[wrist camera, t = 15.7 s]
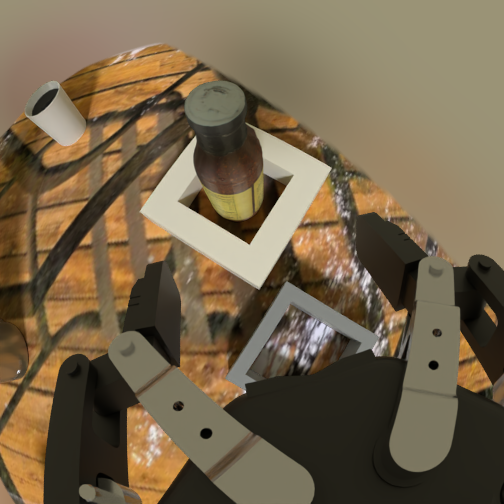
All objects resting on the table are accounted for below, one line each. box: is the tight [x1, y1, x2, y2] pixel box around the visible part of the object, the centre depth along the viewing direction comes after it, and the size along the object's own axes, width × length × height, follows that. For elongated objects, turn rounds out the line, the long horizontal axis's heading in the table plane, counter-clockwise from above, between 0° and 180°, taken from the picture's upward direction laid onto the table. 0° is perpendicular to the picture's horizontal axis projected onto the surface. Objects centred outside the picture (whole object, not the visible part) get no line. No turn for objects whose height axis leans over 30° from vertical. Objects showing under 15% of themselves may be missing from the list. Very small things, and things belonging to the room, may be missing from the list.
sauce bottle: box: [184, 81, 263, 222], centre depth 27 cm, size 7×6×20 cm
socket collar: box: [140, 123, 331, 290], centre depth 35 cm, size 16×16×4 cm
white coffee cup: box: [25, 81, 86, 146], centre depth 35 cm, size 7×7×10 cm
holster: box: [225, 281, 379, 391], centre depth 31 cm, size 12×12×4 cm
